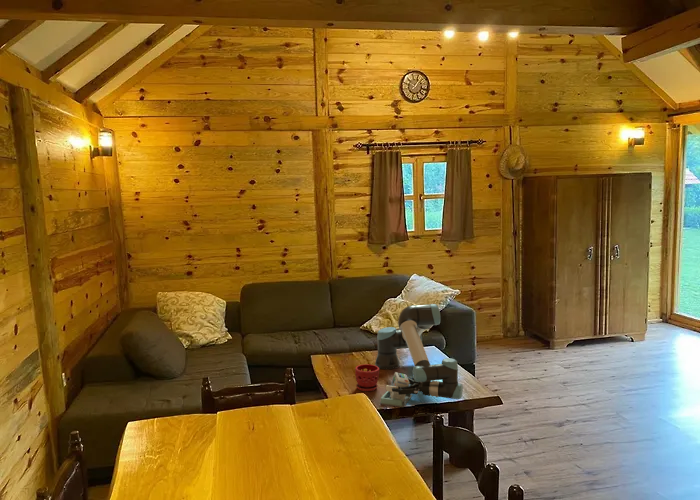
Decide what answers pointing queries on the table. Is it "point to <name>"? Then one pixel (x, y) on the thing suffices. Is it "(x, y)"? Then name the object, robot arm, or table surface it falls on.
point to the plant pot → (367, 377)
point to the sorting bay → (394, 400)
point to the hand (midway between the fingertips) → (390, 383)
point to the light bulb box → (399, 381)
